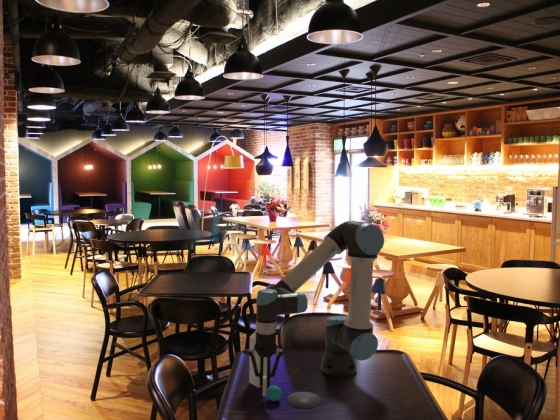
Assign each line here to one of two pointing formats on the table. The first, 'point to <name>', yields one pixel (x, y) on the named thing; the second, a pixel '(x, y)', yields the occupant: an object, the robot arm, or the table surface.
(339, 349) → the robot arm
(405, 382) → the table surface
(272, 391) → the ball
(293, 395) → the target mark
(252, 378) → the milk
